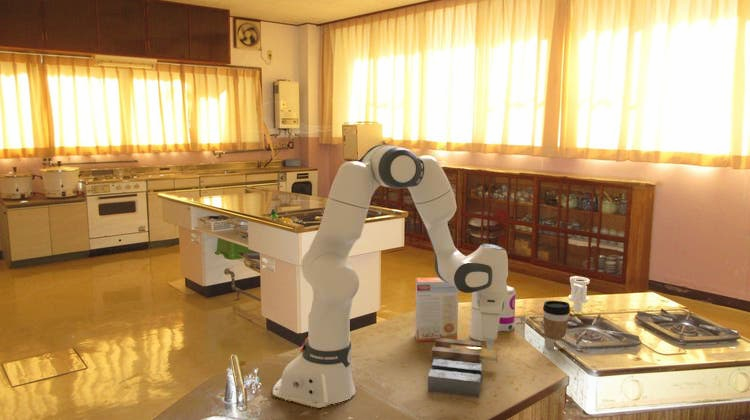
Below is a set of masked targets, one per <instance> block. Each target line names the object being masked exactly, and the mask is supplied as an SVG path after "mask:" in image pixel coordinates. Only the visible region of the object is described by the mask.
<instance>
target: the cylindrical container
mask: <svg viewBox="0 0 750 420" xmlns="http://www.w3.org/2000/svg"><path fill="white" fill-rule="evenodd" d="M476 300H477V291H476V292H472V293H471V308H470V311H471V314H470V333H469V335H470V338H471V339H472V338H473V339H472V340H474V341H478V340H479V341H478V342H486V341H485V339H484V338H483V333H482V321H481V313H480V312H479V307H478V304H477V303H476Z"/></svg>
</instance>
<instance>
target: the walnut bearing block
mask: <svg viewBox="0 0 750 420" xmlns="http://www.w3.org/2000/svg"><path fill="white" fill-rule="evenodd" d="M450 345H461V346H470V347H480V348H482V341H477V340H474V341H473V340H465V339H458V338H457V339H447V338H437V337H436V340H435V341H434V346H432V348H431V363H430V364H431V367H430V369H432V363H433V360H434V359H442V360H451V361H460V362H469V363H478V364H481V361H482V360H480V351H471V350H462V349H452V348H450Z"/></svg>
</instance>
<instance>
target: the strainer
mask: <svg viewBox="0 0 750 420" xmlns="http://www.w3.org/2000/svg"><path fill="white" fill-rule="evenodd" d="M569 282H570V284H569V285H570V287H571V290H570V294H569V295H568V300H569V301H570V302H573V310H574V311H577V312H580V311H582V310H583V304H584V303H585V304H586V303H588V302H589V297H588V296H587V290H588V286H587V285H589V284H590V279H589V278H587V277H583V276H577V275H575V276H570V277H569Z"/></svg>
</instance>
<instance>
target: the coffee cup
mask: <svg viewBox="0 0 750 420" xmlns="http://www.w3.org/2000/svg"><path fill="white" fill-rule="evenodd" d="M570 308H571V305H570V303H569V302H567V301H562V300H560V301H559V300H547V301H545V302H544V303H543V307H542V310H543V328H544V329H543V330H544V331H543V333H544V346H545V348H547V349H549V350H553V351H555V350H554V342H556V341H559V340H561V339H562V337H564V336H565V335H567V329H568V324H569V315H570V314H571V309H570ZM565 337H566V336H565Z"/></svg>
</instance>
